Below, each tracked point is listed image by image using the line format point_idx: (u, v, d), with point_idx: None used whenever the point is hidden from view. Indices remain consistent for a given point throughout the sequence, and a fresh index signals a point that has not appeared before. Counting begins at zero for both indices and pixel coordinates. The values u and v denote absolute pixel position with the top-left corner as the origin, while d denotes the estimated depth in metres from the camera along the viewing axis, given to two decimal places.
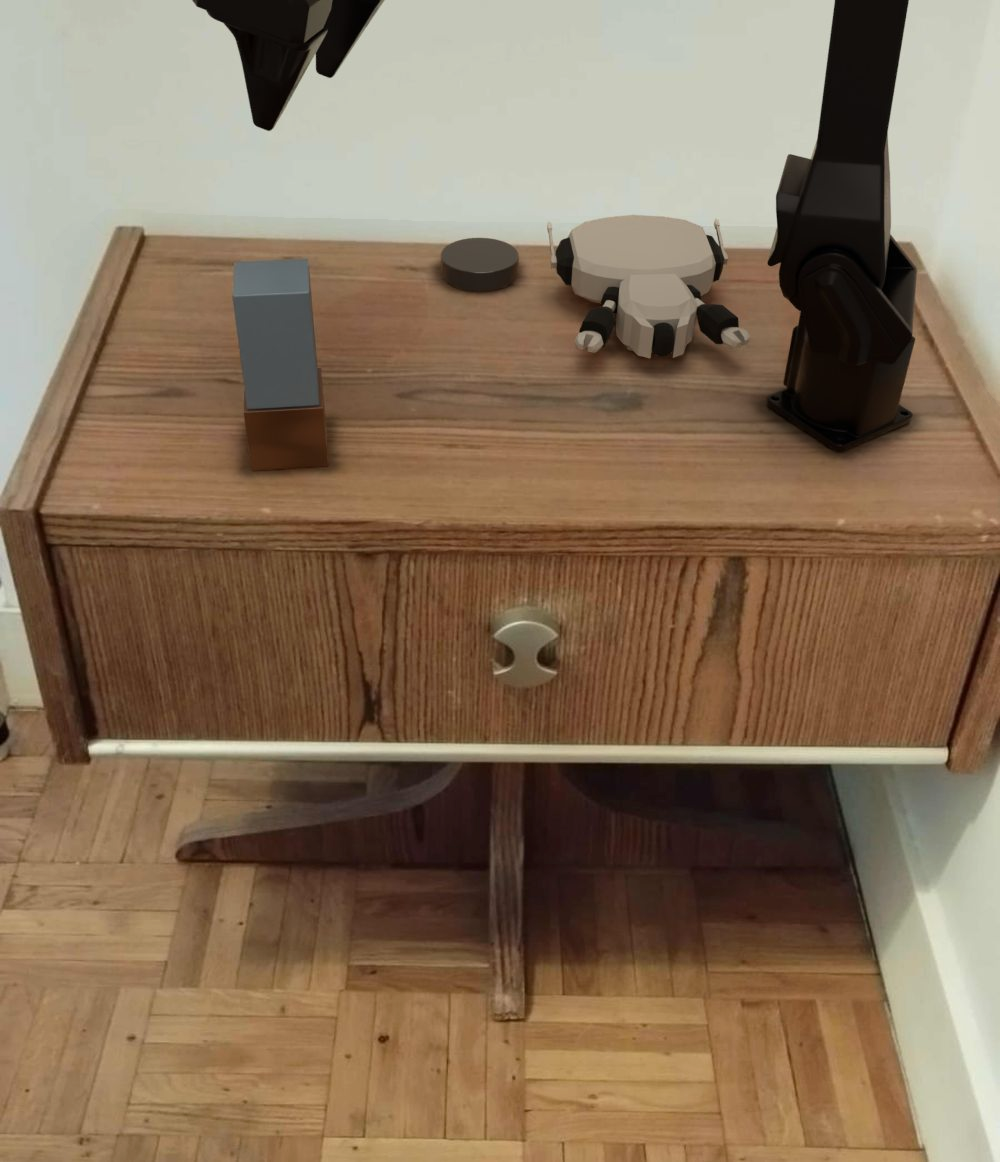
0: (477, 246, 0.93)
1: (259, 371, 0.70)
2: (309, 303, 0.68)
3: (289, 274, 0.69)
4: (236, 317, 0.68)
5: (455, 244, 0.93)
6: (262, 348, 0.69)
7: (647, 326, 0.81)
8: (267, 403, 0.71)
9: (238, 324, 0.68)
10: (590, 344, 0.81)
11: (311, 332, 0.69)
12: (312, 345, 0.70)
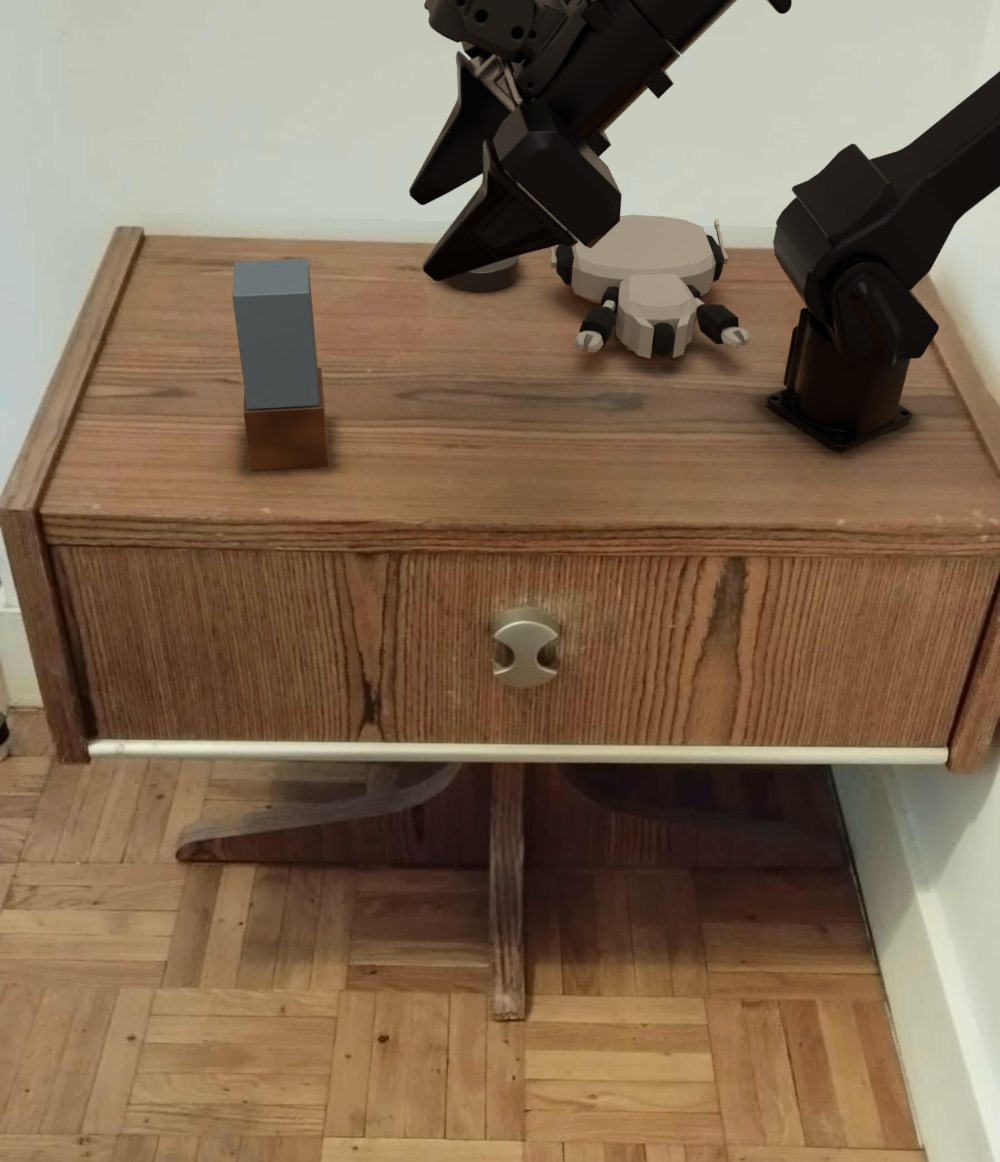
0: None
1: (259, 371, 0.70)
2: (309, 303, 0.68)
3: (289, 274, 0.69)
4: (236, 317, 0.68)
5: None
6: (262, 348, 0.69)
7: (647, 326, 0.81)
8: (267, 403, 0.71)
9: (238, 324, 0.68)
10: (590, 344, 0.81)
11: (311, 332, 0.69)
12: (312, 345, 0.70)
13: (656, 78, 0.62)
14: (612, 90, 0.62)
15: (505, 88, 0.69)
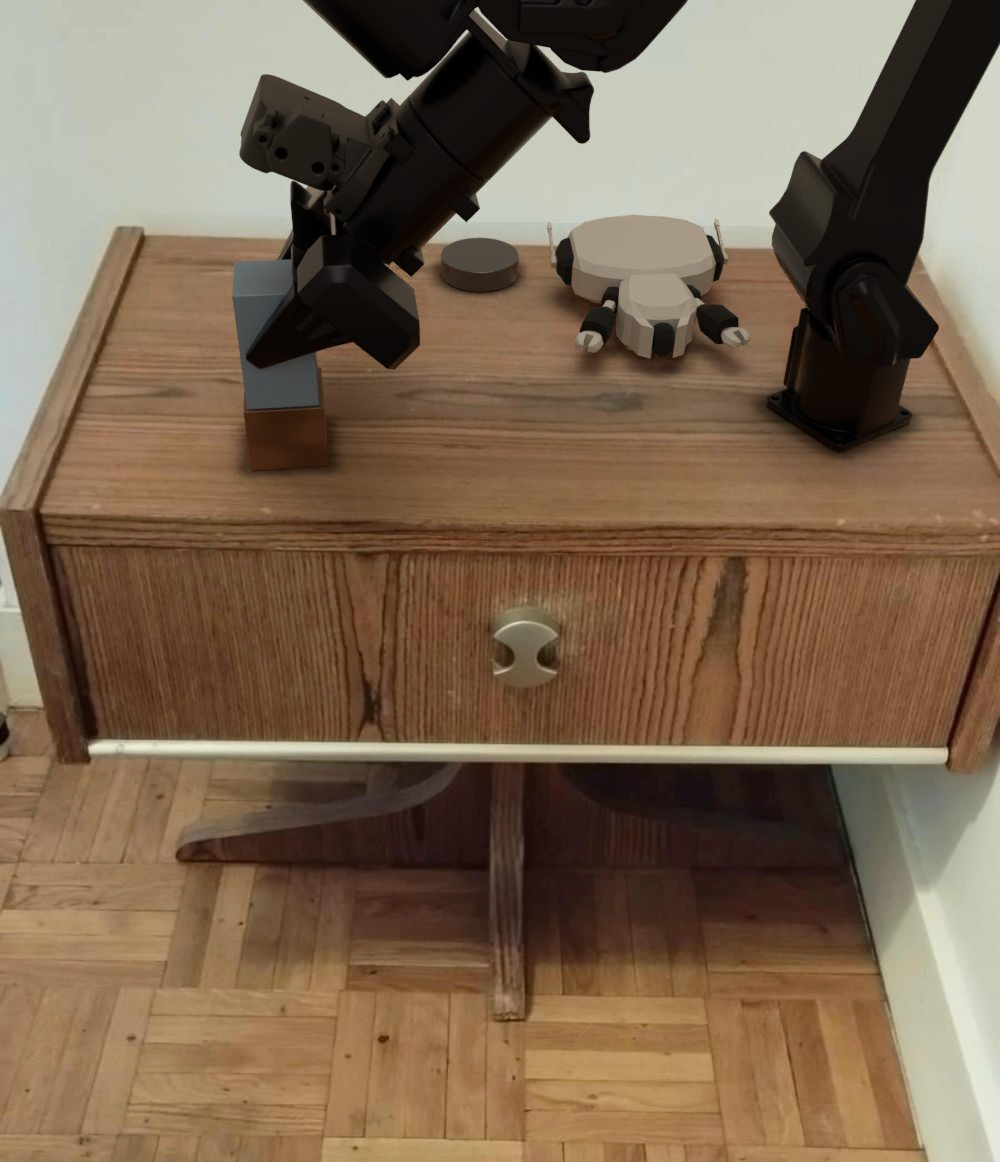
0: (477, 246, 0.93)
1: (259, 371, 0.70)
2: None
3: (289, 274, 0.69)
4: (236, 317, 0.68)
5: (455, 244, 0.93)
6: None
7: (647, 326, 0.81)
8: (267, 403, 0.71)
9: (238, 324, 0.68)
10: (590, 344, 0.81)
11: None
12: None
13: (462, 204, 0.65)
14: (420, 215, 0.65)
15: None
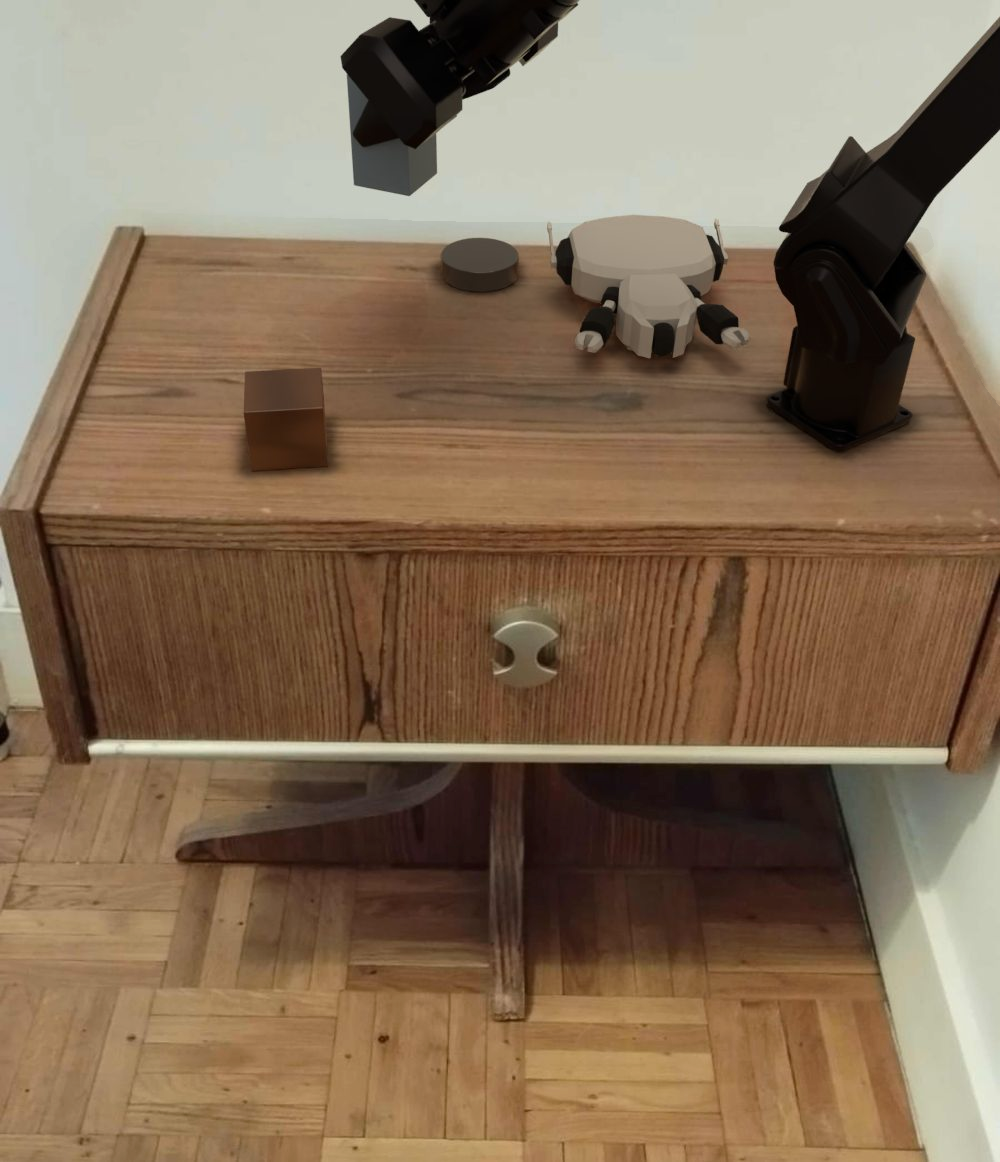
0: (477, 246, 0.93)
1: (363, 150, 0.80)
2: None
3: None
4: (348, 94, 0.78)
5: (455, 244, 0.93)
6: None
7: (647, 326, 0.81)
8: (369, 183, 0.81)
9: (349, 101, 0.78)
10: (590, 344, 0.81)
11: None
12: None
13: (531, 20, 0.70)
14: (492, 23, 0.71)
15: None
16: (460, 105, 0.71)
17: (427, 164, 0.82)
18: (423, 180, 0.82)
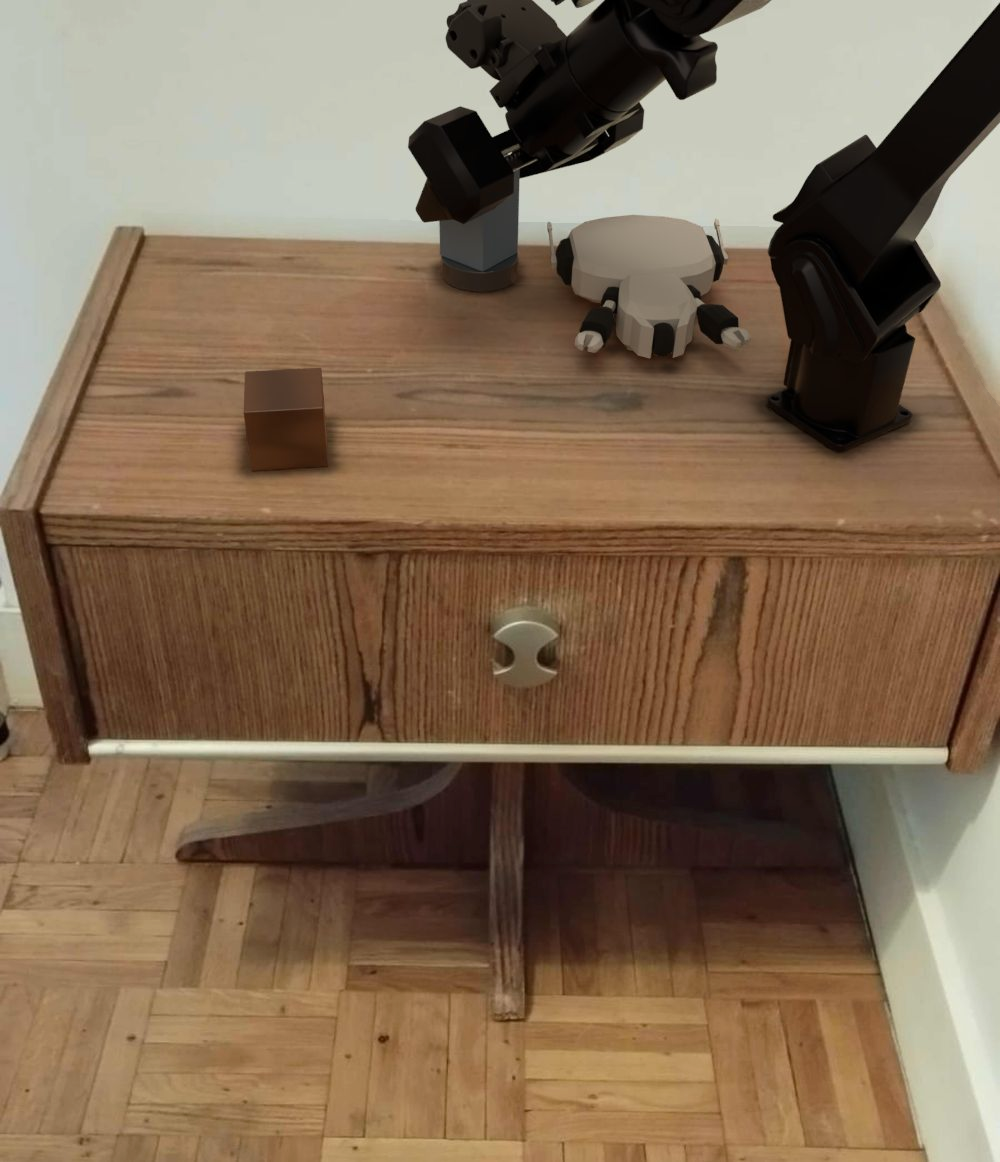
0: None
1: (448, 227, 0.90)
2: None
3: None
4: None
5: None
6: None
7: (647, 326, 0.81)
8: (451, 255, 0.91)
9: None
10: (590, 344, 0.81)
11: None
12: (482, 220, 0.88)
13: (583, 122, 0.78)
14: (550, 120, 0.79)
15: None
16: (511, 189, 0.80)
17: (505, 245, 0.91)
18: (500, 258, 0.91)
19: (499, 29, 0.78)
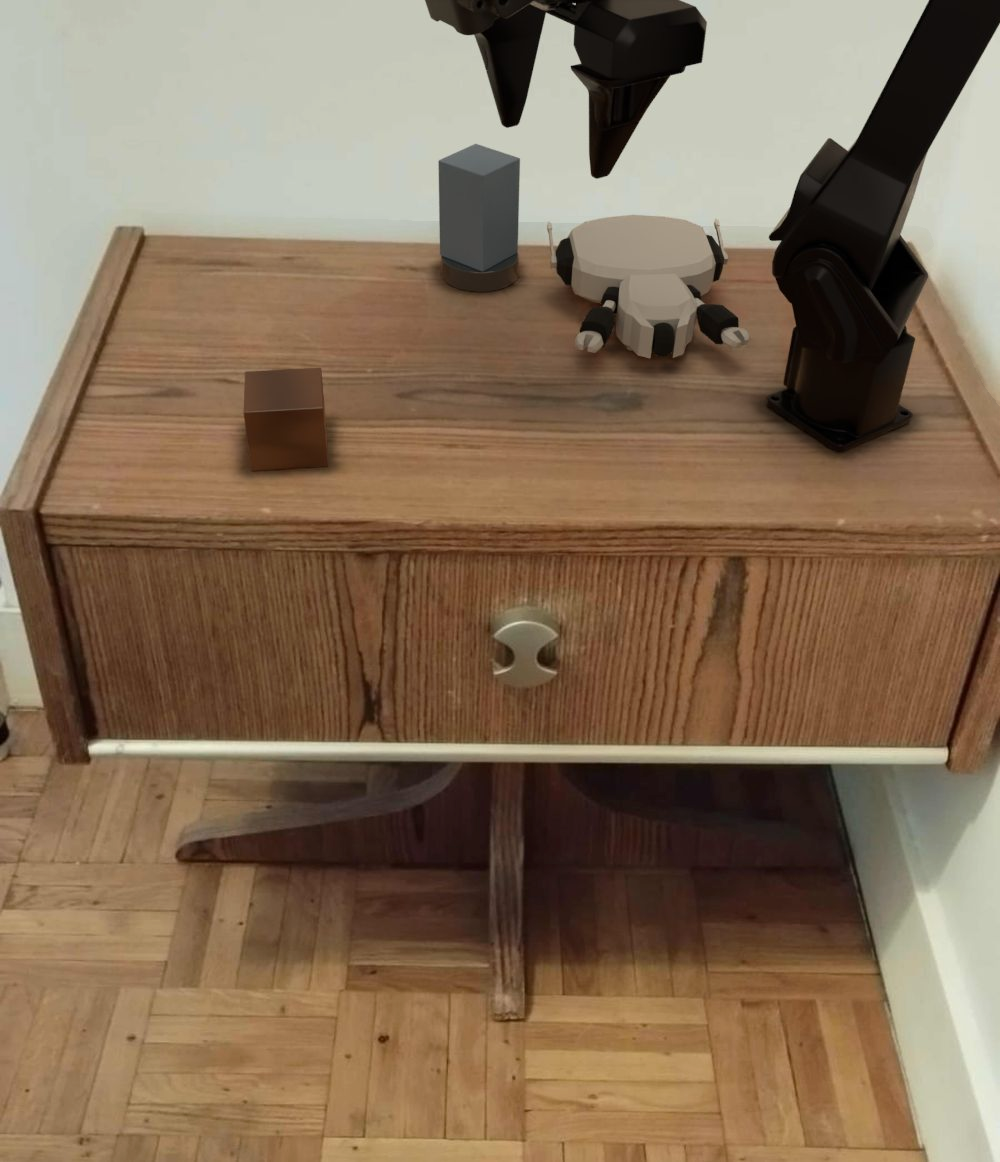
0: None
1: (448, 227, 0.90)
2: (483, 185, 0.86)
3: (491, 162, 0.87)
4: (439, 178, 0.88)
5: None
6: (452, 209, 0.89)
7: (647, 326, 0.81)
8: (451, 255, 0.91)
9: (439, 184, 0.88)
10: (590, 344, 0.81)
11: (482, 209, 0.87)
12: (482, 220, 0.88)
13: None
14: None
15: None
16: None
17: (505, 245, 0.91)
18: (500, 258, 0.91)
19: None
